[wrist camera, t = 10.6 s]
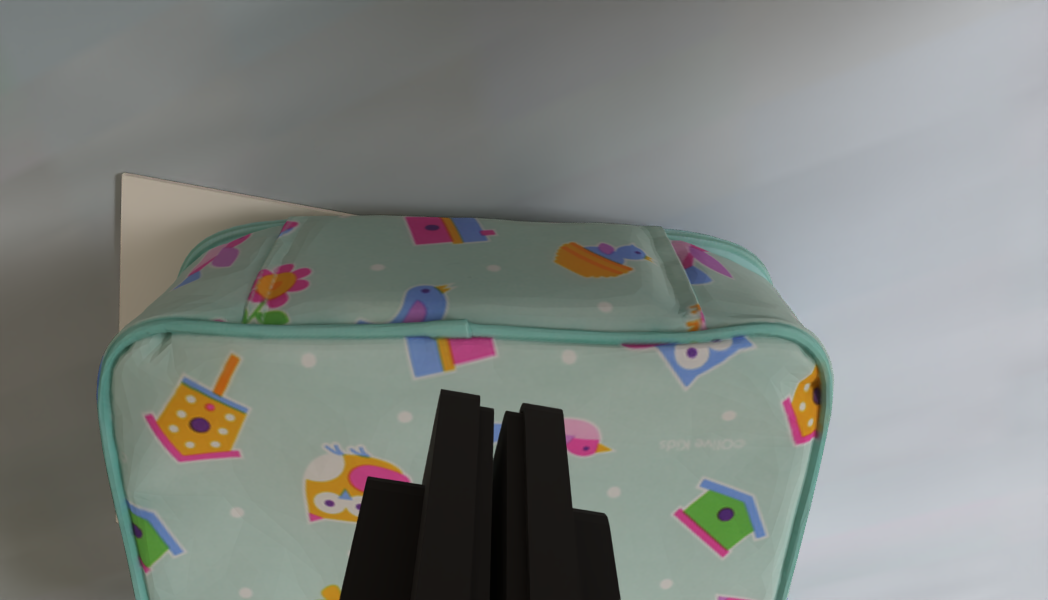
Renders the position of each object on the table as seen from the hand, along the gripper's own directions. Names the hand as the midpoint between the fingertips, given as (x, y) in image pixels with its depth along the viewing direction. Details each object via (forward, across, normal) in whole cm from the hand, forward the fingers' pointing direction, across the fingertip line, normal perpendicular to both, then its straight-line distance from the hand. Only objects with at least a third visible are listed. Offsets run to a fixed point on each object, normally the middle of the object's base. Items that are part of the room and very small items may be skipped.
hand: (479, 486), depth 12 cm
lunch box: (+19, 0, +5) cm, 20 cm away
